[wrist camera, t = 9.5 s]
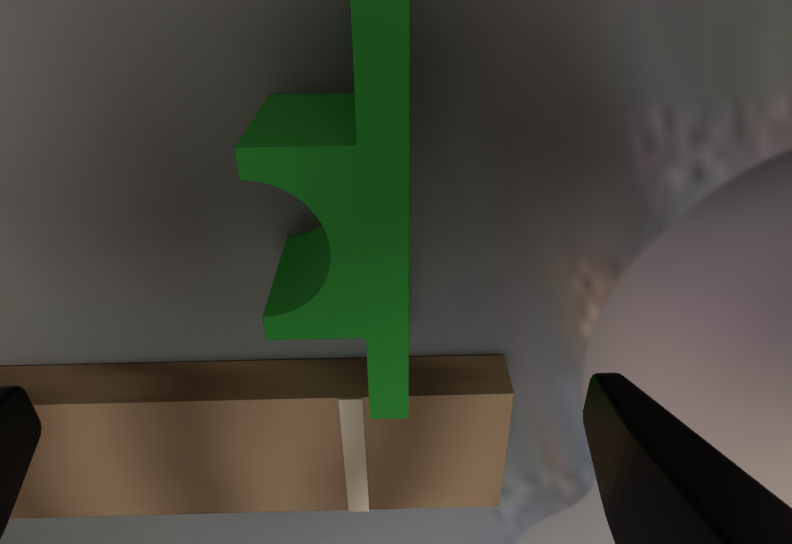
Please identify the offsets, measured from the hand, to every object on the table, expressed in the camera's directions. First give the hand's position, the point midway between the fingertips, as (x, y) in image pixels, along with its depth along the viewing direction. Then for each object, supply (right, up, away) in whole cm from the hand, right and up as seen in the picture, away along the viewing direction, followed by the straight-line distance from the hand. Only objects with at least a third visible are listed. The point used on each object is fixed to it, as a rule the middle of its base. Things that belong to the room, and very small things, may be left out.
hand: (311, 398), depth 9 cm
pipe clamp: (0, +5, +8) cm, 10 cm away
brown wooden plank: (-7, -4, +13) cm, 15 cm away
